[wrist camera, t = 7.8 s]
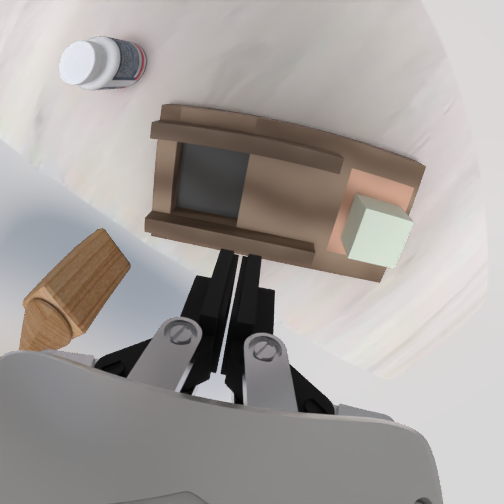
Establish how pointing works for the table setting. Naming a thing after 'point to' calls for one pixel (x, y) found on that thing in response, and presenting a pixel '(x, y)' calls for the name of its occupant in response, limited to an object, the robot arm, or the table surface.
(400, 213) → the sage block
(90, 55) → the pill bottle
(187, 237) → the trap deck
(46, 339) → the decorative item
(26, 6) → the table surface
